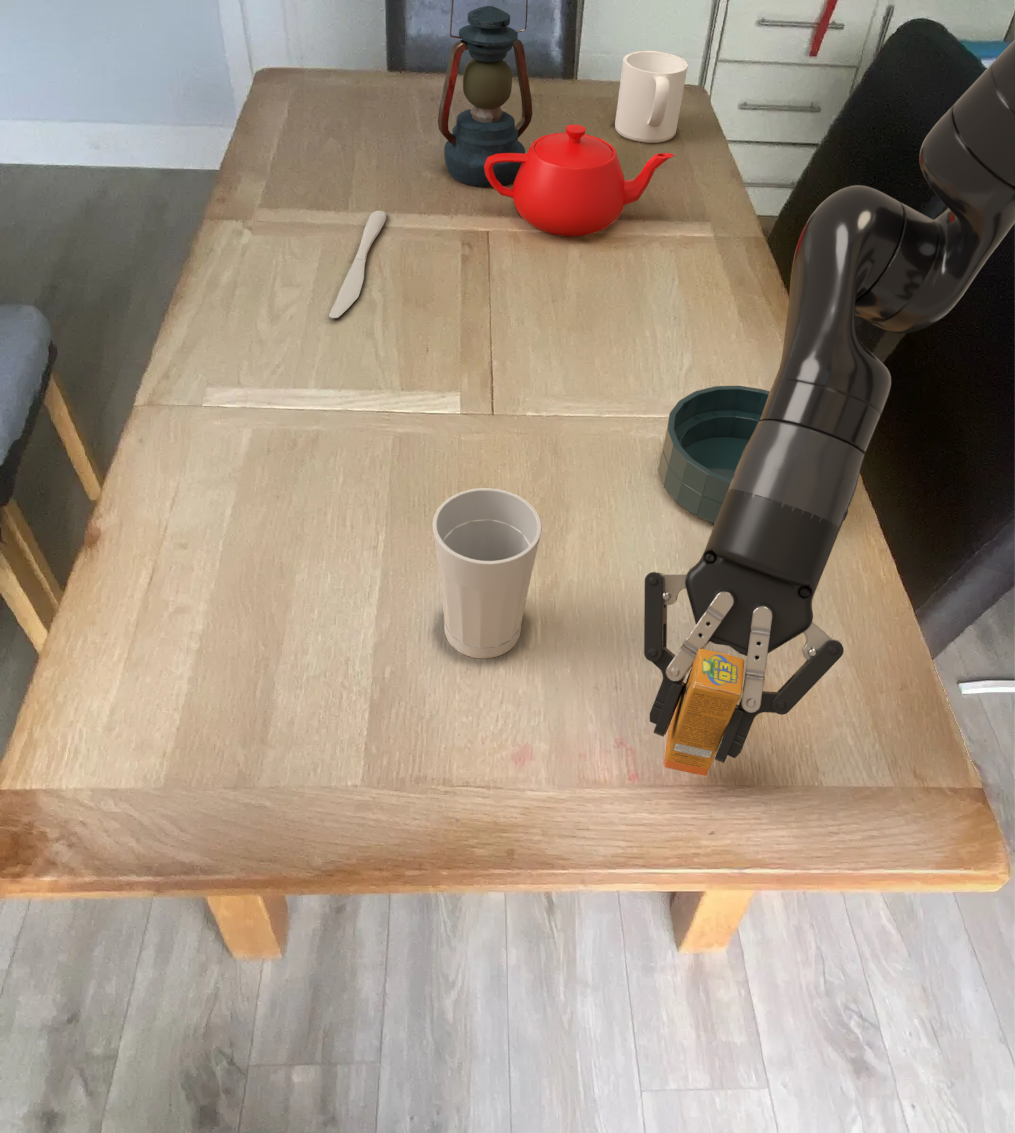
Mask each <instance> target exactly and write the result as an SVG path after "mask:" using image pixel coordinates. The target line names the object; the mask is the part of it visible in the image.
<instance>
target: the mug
mask: <svg viewBox="0 0 1015 1133" xmlns="http://www.w3.org/2000/svg"><path fill="white" fill-rule="evenodd" d="M688 67H689V65H688V62H687V61H686V60H685V59H684V58H682V57H680V56H678V55H676V54H672V53H669V52H663V51H657V50H639V51H634V52H630V53H627V54H626V55H624V57H623V58H622V67H621V75H620V82H619V90H618V97H617V105H616V113H615V121H614V130H615V131H616V132H617V134H619V135H620V136H621V137H623V138H625V139H627V140H630V141H634V142H639V143H647V144H658V143H662V142H667V141H670V140H672V139H673V138H674V137H675V135H676V133H677V129H678V124H679V118H680V112H681V107H682V101H683V96H684V89H685V83H686V79H687V73H688Z"/></svg>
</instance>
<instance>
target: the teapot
mask: <svg viewBox="0 0 1015 1133" xmlns="http://www.w3.org/2000/svg"><path fill="white" fill-rule="evenodd" d="M586 129H587V128H586V127H585V126H584V125H581V124H568V125H566V126H565V132H554V133H550V134H546V135H542V136H541V137H539V138H537V139H535V140H534V141H532V143H531V145H530V146H529V148H528V151H527V152H526V153H525V154H522V153H501V154H494V155H492V156H490V157H488V158H487V160H486V162H485V165H484V169H485V175H486V177H487V179H488V181H489V182H490V184H491V186H492V187H491V188H493V189H494V190H495V191H496V192H497V193H498V194H499V195H501V196H504V197H508V198H511V199H512V201H513V204H514V206H515V208H516V211H517V212H518V214H519V215H520V216H521V218H522V219H523V220H525V221H526V222H527V223H529V224H530V225H531V226H533V227H534V228H536V229H538V230H540V231H542V232H545V233H547V234H550V235H554V236H560V237H567V238H571V237H585V236H588V235H592V234H596V233H598V232H601V231H604V230H605V229H607V228H608V227H610V226H611V225H612V224H613V223H615V222H616V221H617V220H618V219H619V218H620V216H621V214H622V213H623V211H624V206H626V205H629V204H632V203H634V202H637V201H639V200H640V198H641V197H642V195H643V193H644V192H645V190H646V189H647V188H648V186H649V184H650V182H651V180H652V177H653V175H654V173H655V171H656V170H657V169H658V168H659V167H660V166H662V165H663V164H664V163H665V162H667V161H668V160H669V159H671V158H673V157H674V156H675V154H673V153H668V152H660V153H656V154H654V155H652V156H651V157H650V159H648V161H647V162H646V163H645V164H644V167H643V168H642V170H641V171H640V173H638V175H636V176H635V177H634V178H633V179H625V175H624V172H623V168H622V165H621V162H620V160H619V155H618V153H617V150H616V148H615V147H614V146H613V145H612V144H611V143H609V142H607V141H605V140H604V139H602V138H599V137H596V136H593V135H589V134H586V131H587V130H586ZM499 162H522V164H521V166H520V168H519V171H518V173H517V176H516V178H515V180H514V181H513V184H512V188H511V187H508V186H505V185H501V184H500V182H499V181H498V180H497V179H496V177H495V174H494V172H493V165H494V164H496V163H499Z"/></svg>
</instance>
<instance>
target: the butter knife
mask: <svg viewBox="0 0 1015 1133" xmlns="http://www.w3.org/2000/svg"><path fill="white" fill-rule="evenodd" d="M386 221H387V214H386V212H385V211H383V210H375V211H373V212H371V214H370V215H369V217H368V218H367V221H366V224H365V227H364V229H363V231H362V232H363V233H362V237H361V240H360V243H359V246H358V249H357V253H356V255H355V257H354V260H353V262H352V264H351V266H350V268H349V270H348V272H347V275H346V276H345V278H344V280H343V282H342V285H341V287H340V289H339V291H338V293H337V296H336V298H335V300H334V301H335V302H334V303H333V306H332V307H331V309H330V311H329V314H328V317H329V318H331V319H334V320H335V319H339V317H341V316H342V315H343V314H344V313H345V312H346V311H347V310H348V309H349V308H350V307H351V306H352V305H353V304H354V303H355V301H356V300H357V299H358V298H359V296H360V293H361V290H362V287H363V283H364V279H365V265H366V262H367V256H368V252H369V251H370V249H371V247H372V244H373V243H374V241H375V240H376V238H377V237H378V236H379V234H380V232H381V230H382V228H383V227H384V224H385V222H386Z"/></svg>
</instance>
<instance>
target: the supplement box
mask: <svg viewBox="0 0 1015 1133" xmlns="http://www.w3.org/2000/svg"><path fill="white" fill-rule="evenodd" d="M744 673H745V659H744V658H743V657H739V656H735V655H732V654H727V653H723V652H720V651H715V650H711V649H706V648H705V649H698V652H697V655H696V657H695V660H694V662H693V665H692V667H691V668H690V670H689V672H688V674H687V675H688V676H687V679H686V681H685V682H684V683H685V686H684V689H683V692H682V695H681V697H680V700H679V702H678V705H677V708H676V710H675V713H674V715H673V718H672V720H671V723H670V725H669V728H668V730H667V737H666V743H665V751H664V759H663V766H664V768H666V769H670V770H674V771H678V772H683V773H688V774H691V775H692V774H693V775H698V776H702V777H707V776H708V774H709V771H710V769H711V766H712V763H713V761H714V760H715V756H716V754H717V751H718V748H719V746H720V743H721V741H722V738H723V736H724V733H725V731H726V728H727V726H728V724H729V722H730V719H731V717H732V714H733V712H734V709H735V707H736V705H738V702H739V700H740V699H741V697H742V693H743V686H744Z"/></svg>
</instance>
